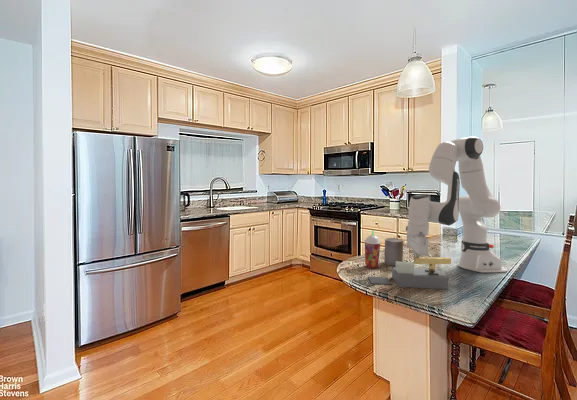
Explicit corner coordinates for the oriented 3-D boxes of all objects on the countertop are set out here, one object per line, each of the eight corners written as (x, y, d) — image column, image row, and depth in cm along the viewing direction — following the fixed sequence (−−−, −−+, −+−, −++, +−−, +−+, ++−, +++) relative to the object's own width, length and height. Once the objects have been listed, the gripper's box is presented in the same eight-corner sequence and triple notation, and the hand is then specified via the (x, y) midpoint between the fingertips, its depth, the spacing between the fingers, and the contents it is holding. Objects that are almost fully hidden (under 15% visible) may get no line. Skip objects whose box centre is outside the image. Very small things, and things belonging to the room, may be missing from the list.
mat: (387, 278, 144) (387, 277, 144) (391, 285, 135) (391, 284, 135) (368, 277, 145) (368, 276, 145) (371, 284, 136) (371, 283, 136)
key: (447, 271, 139) (448, 257, 138) (450, 273, 137) (451, 258, 136) (413, 271, 139) (414, 257, 138) (415, 273, 136) (416, 258, 136)
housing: (437, 279, 143) (438, 268, 143) (448, 289, 132) (448, 276, 131) (392, 277, 146) (392, 266, 145) (398, 286, 134) (398, 274, 133)
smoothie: (380, 265, 165) (381, 229, 163) (379, 270, 157) (380, 232, 155) (364, 263, 168) (365, 228, 166) (362, 268, 160) (364, 230, 158)
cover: (410, 270, 141) (411, 262, 141) (414, 273, 136) (414, 265, 136) (395, 269, 142) (395, 261, 141) (398, 273, 137) (398, 264, 136)
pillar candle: (399, 261, 173) (400, 235, 172) (404, 266, 163) (405, 239, 162) (382, 261, 174) (383, 235, 173) (386, 266, 164) (386, 238, 163)
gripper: (433, 235, 127) (431, 267, 128) (418, 226, 147) (416, 254, 148) (417, 234, 128) (416, 266, 129) (404, 226, 148) (403, 254, 149)
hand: (416, 260), depth 139 cm, fingers closed
